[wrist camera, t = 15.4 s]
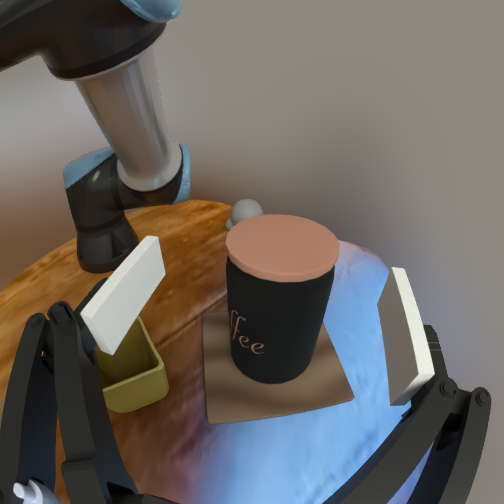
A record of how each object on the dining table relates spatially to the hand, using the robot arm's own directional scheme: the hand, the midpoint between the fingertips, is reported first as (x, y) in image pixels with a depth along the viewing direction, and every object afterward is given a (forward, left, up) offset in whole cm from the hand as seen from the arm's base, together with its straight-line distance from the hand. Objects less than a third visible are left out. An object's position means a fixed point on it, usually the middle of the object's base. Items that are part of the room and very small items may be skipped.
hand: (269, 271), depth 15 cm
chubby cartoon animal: (-42, +6, -23) cm, 49 cm away
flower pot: (-6, -15, -23) cm, 28 cm away
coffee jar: (-9, +3, -22) cm, 24 cm away
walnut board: (-10, +3, -23) cm, 25 cm away
